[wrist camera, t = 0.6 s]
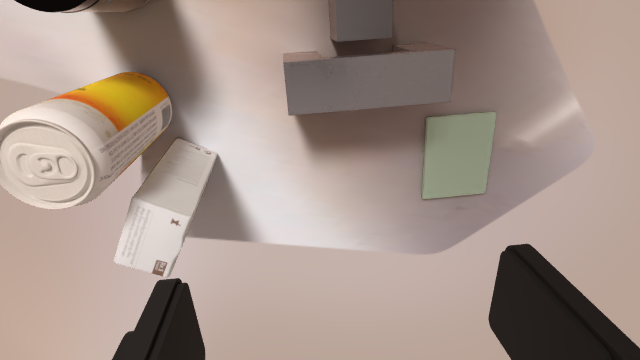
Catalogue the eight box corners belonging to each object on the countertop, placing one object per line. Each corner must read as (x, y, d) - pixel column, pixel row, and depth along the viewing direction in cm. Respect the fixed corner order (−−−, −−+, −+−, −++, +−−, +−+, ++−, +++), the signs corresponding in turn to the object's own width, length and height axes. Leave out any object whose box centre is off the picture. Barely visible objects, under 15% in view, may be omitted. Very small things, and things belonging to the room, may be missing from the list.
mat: (426, 117, 36) (428, 118, 36) (494, 111, 37) (496, 112, 36) (421, 197, 40) (422, 199, 40) (483, 191, 41) (485, 193, 40)
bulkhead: (283, 53, 33) (283, 62, 27) (425, 43, 34) (455, 49, 28) (287, 98, 34) (288, 115, 29) (422, 87, 35) (450, 101, 29)
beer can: (98, 69, 32) (-39, 110, 18) (170, 71, 33) (89, 114, 19) (111, 135, 34) (-2, 216, 21) (178, 137, 35) (111, 215, 22)
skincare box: (175, 135, 35) (126, 191, 24) (221, 153, 36) (193, 214, 25) (158, 189, 37) (105, 263, 26) (201, 204, 38) (168, 281, 27)
